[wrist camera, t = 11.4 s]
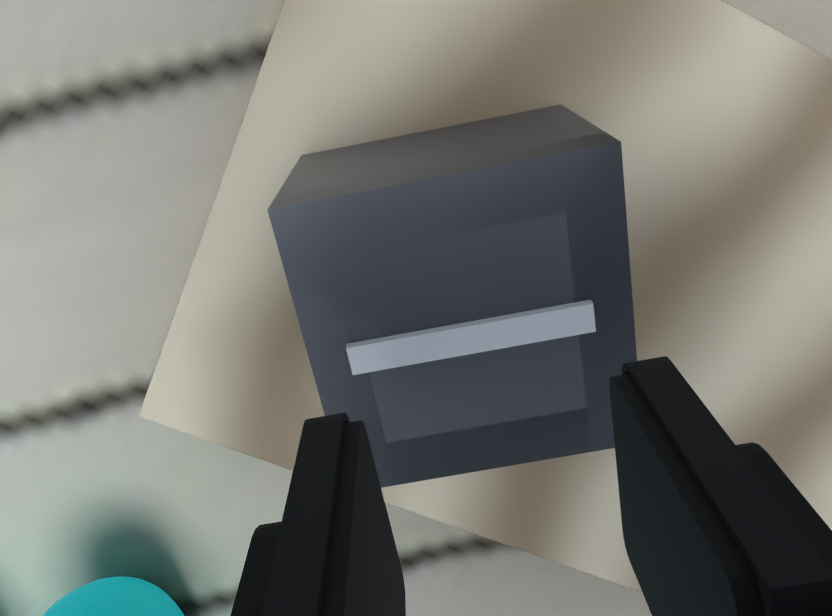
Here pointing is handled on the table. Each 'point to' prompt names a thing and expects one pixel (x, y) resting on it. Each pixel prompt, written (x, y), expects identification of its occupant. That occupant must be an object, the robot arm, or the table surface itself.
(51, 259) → the table surface
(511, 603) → the table surface
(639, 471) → the robot arm
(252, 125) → the beige wavy cloth
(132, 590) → the donuts
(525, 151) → the dark grey box
